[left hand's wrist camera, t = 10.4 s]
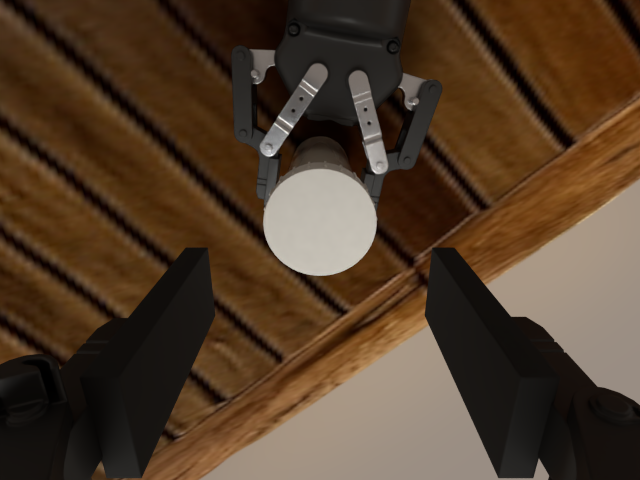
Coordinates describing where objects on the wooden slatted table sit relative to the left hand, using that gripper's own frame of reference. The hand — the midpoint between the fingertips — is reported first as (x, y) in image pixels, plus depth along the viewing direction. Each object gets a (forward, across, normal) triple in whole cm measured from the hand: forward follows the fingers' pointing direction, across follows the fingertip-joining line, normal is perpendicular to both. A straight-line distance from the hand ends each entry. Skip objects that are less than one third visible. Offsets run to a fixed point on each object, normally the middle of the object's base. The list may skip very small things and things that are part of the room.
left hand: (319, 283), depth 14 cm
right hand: (+16, 0, -2) cm, 16 cm away
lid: (+7, 0, 0) cm, 7 cm away
